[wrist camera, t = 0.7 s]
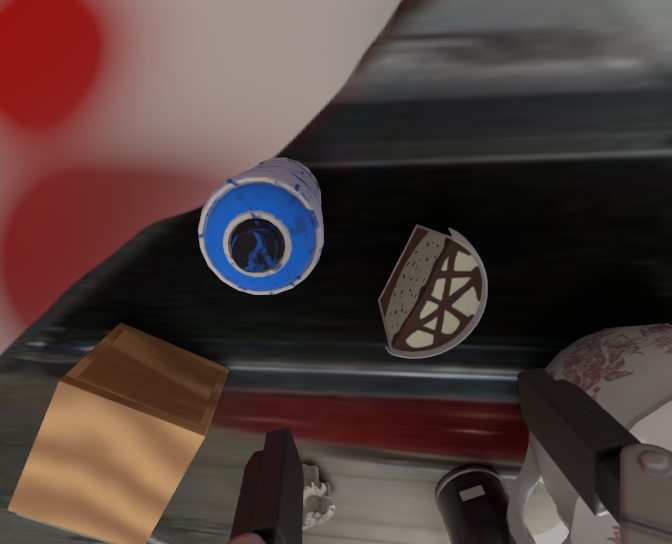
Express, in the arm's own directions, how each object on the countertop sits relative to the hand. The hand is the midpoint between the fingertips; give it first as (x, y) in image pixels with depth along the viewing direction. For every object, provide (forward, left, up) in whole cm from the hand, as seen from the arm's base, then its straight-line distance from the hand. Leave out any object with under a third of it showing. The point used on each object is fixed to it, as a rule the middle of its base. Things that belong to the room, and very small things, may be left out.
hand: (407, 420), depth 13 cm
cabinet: (-13, +27, -28) cm, 41 cm away
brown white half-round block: (-7, -7, -29) cm, 30 cm away
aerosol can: (+5, +5, -29) cm, 29 cm away
